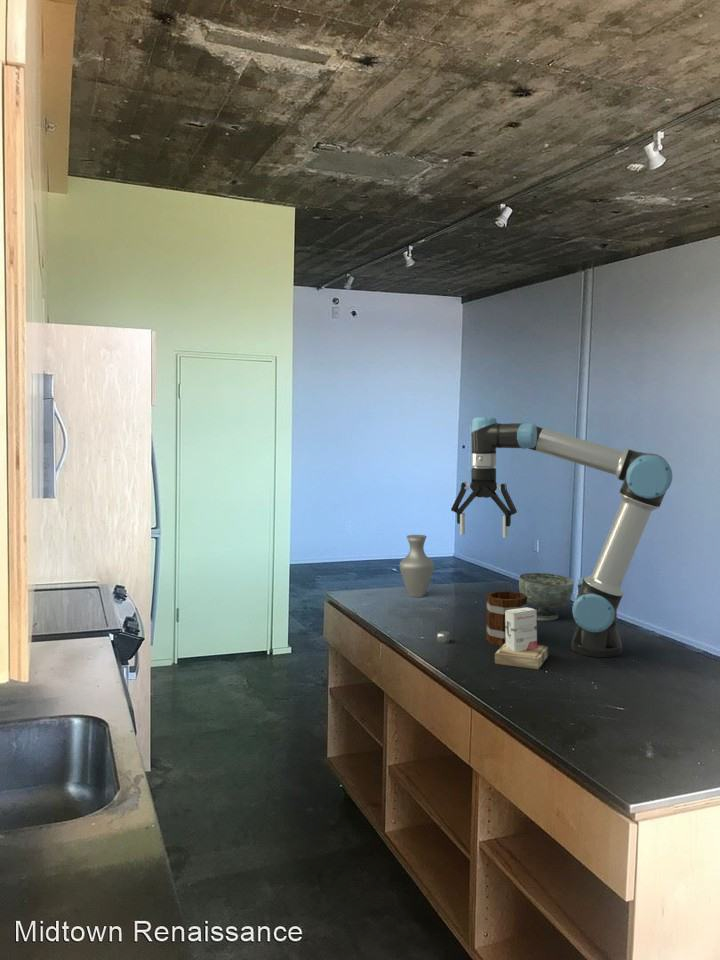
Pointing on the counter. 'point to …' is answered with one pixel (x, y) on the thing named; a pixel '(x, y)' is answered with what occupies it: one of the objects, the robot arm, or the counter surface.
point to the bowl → (546, 592)
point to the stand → (522, 657)
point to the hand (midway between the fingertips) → (483, 535)
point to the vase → (416, 567)
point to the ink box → (521, 629)
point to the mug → (501, 613)
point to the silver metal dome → (443, 637)
